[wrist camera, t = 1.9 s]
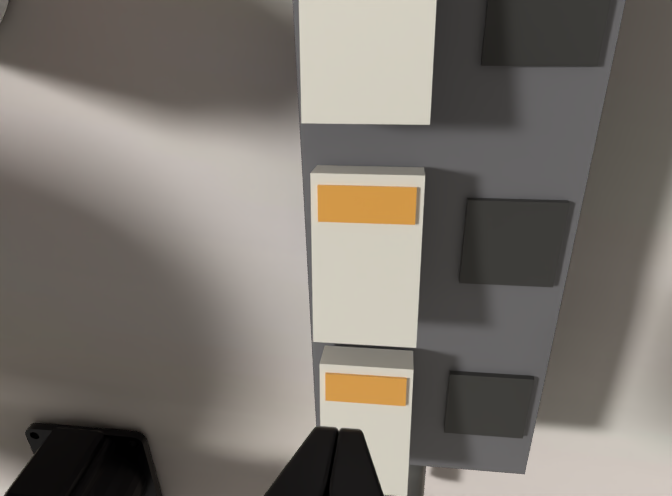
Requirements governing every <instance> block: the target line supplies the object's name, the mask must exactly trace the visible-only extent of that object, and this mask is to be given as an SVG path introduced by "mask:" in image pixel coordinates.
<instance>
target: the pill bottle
mask: <svg viewBox="0 0 672 496" xmlns="http://www.w3.org/2000/svg"><path fill="white" fill-rule="evenodd" d="M8 1H9V0H0V23H1V21H2V19H3V16H4V14H5V11H6V9H7V5H8Z"/></svg>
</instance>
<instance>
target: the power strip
mask: <svg viewBox="0 0 672 496" xmlns="http://www.w3.org/2000/svg"><path fill="white" fill-rule="evenodd" d="M625 1H626V0H437V2H436V21H435V40H434V59H433V77H432V96H431V115H430V125H402V124H315V123H301V81H300V34H299V0H293V13H294V32H295V50H296V68H297V86H298V104H299V122H300V140H301V158H302V176H303V194H304V212H305V230H306V248H307V266H308V285H309V303H310V321H311V339H312V357H313V375H314V393H315V411H316V427H317V426H320V368H319V364H320V360H321V357H322V353H323V350H324V346H341V347H358V348H374V349H391V350H408V351H413V367H414V371H413V390H412V410H411V430H410V449H409V469H408V489H407V496H424V485H425V473H426V466H432V467H444V468H456V469H468V470H480V471H492V472H504V473H516V474H525V470H526V465H527V461H528V456H529V451H530V446H531V442H532V437H533V432H534V428H535V423H536V418H537V414H538V409H539V404H540V400H541V395H542V390H543V386H544V381H545V376H546V371H547V367H548V362H549V357H550V353H551V348H552V343H553V339H554V334H555V329H556V325H557V320H558V315H559V311H560V306H561V301H562V296H563V292H564V287H565V282H566V278H567V273H568V268H569V264H570V259H571V254H572V250H573V245H574V240H575V235H576V231H577V226H578V221H579V217H580V212H581V207H582V203H583V198H584V193H585V189H586V184H587V179H588V175H589V170H590V165H591V160H592V156H593V151H594V146H595V142H596V137H597V132H598V128H599V123H600V118H601V114H602V109H603V104H604V99H605V95H606V90H607V85H608V81H609V76H610V71H611V67H612V62H613V57H614V53H615V48H616V43H617V39H618V34H619V29H620V24H621V20H622V15H623V10H624V6H625ZM317 165H335V166H384V167H424V172H425V189H424V208H423V228H422V247H421V266H420V285H419V304H418V324H417V343H416V348H410V347H393V346H376V345H359V344H342V343H324V342H313V304H312V244H311V184H310V173H311V172H312V171H313V169H314V168H315V167H316V166H317Z"/></svg>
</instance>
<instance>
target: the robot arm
mask: <svg viewBox="0 0 672 496" xmlns="http://www.w3.org/2000/svg"><path fill="white" fill-rule="evenodd" d="M25 433H26V437H27V439H28V442H29V444H30V446H31V449H32V451H33V454H34V455H33V457H32V458H31V459H30V461H29V462H28V463H27V465H26V466H25V467H24V469H23V470H22V471H21V473H20V474H19V475H18V477H17V478H16V479H15V481H14V482H13V483H12V485H11V486H10V487H9V489H8V490H7V491H6V493H5V495H4V496H162V495H161V491H160V487H159V484H158V480H157V476H156V472H155V469H154V465H153V461H152V458H151V454H150V450H149V446H148V443H147V439H146V437H145V435H143V434H142V433H140V432H138V431H129V430H117V429H104V428H92V427H79V426H67V425H55V424H42V423H33V424H31V425H30V426H29V428H28V429H27V430H26V432H25ZM264 496H384V494H383V491H382V488H381V485H380V482H379V479H378V476H377V473H376V470H375V467H374V464H373V461H372V458H371V455H370V452H369V449H368V446H367V443H366V440H365V437H364V434H363V432H362V430H360V429H354V428H341V429H340V430H338V429H337V428H336V427H328V426H317V427H315V428H314V429H313V430H312V431H311V433H310V434H309V436H308V437H307V438H306V440H305V441H304V442H303V444H302V445H301V446H300V448H299V449H298V450H297V452H296V453H295V454H294V456H293V457H292V458H291V460H290V461H289V462H288V464H287V465H286V466H285V468H284V469H283V470H282V472H281V473H280V475H279V476H278V477H277V479H276V480H275V481H274V483H273V484H272V485H271V487H270V488H269V489H268V491H267V492H266V493H265V495H264Z"/></svg>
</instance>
